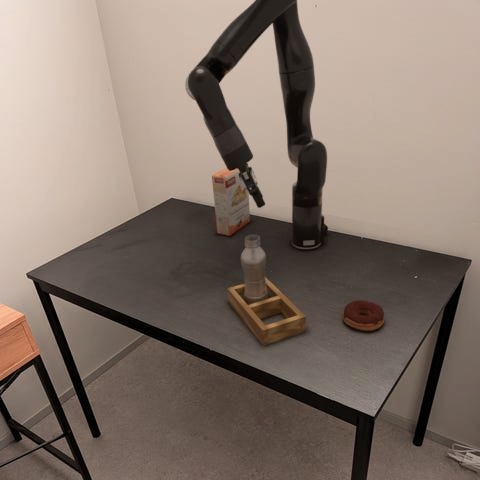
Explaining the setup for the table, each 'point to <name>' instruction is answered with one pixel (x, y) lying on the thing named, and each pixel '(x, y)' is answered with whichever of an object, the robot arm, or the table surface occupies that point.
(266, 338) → the caddy
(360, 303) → the donut
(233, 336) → the table surface
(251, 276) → the grey metal bottle
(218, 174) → the cracker box
